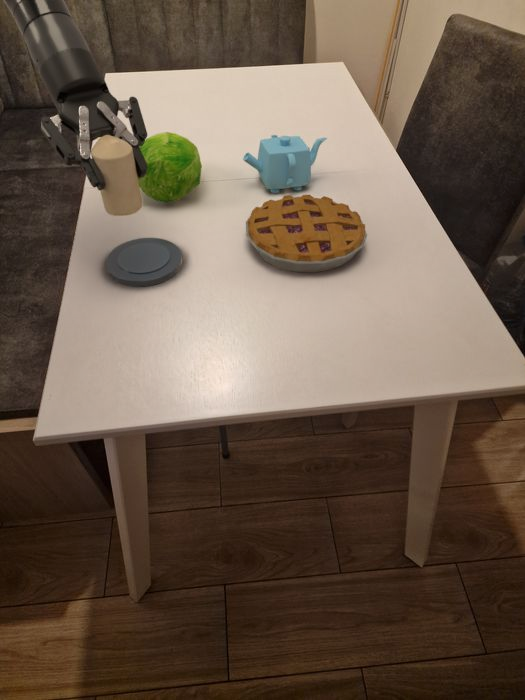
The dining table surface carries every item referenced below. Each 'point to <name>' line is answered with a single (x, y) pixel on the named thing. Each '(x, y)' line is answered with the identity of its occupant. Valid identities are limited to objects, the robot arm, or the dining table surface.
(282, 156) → the teapot
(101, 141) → the candle
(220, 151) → the dining table surface
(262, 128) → the dining table surface
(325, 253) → the pie
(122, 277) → the saucer
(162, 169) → the lettuce
